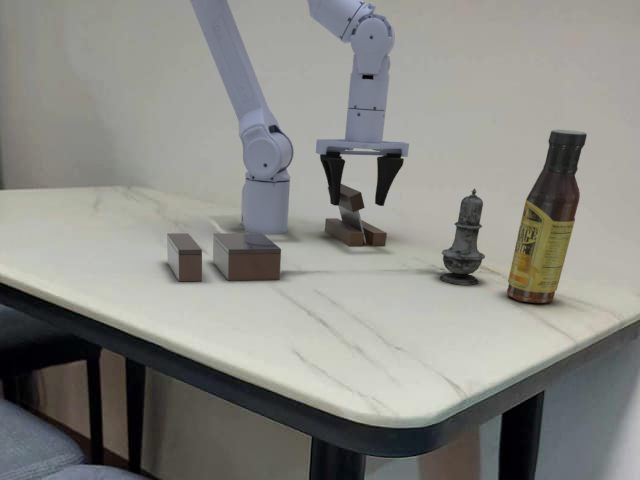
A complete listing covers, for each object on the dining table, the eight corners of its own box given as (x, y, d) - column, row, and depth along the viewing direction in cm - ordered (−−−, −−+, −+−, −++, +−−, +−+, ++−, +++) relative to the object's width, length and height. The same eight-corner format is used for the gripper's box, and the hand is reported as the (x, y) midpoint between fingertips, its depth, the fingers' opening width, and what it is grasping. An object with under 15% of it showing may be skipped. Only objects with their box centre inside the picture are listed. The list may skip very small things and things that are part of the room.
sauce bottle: (500, 290, 98) (532, 126, 88) (546, 293, 98) (584, 129, 88) (512, 304, 92) (548, 130, 82) (561, 307, 92) (603, 134, 82)
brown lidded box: (213, 262, 103) (213, 233, 101) (260, 261, 105) (261, 233, 103) (228, 280, 95) (228, 249, 93) (279, 279, 97) (281, 248, 95)
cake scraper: (339, 234, 123) (327, 186, 118) (350, 229, 123) (338, 182, 118) (361, 247, 114) (349, 197, 110) (372, 242, 114) (361, 192, 110)
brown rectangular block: (167, 263, 102) (166, 233, 100) (188, 262, 102) (188, 233, 100) (179, 281, 93) (178, 249, 91) (202, 281, 94) (202, 249, 92)
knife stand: (324, 236, 123) (325, 218, 122) (357, 236, 125) (359, 218, 123) (349, 253, 113) (350, 233, 112) (384, 252, 115) (387, 232, 114)
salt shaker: (481, 287, 99) (498, 193, 93) (437, 282, 100) (452, 189, 94) (479, 277, 104) (496, 187, 98) (437, 272, 105) (451, 183, 99)
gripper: (329, 108, 104) (322, 208, 111) (422, 113, 108) (409, 209, 115) (314, 105, 110) (308, 201, 117) (402, 109, 114) (391, 201, 121)
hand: (357, 204), depth 116 cm, fingers open, 7 cm apart
